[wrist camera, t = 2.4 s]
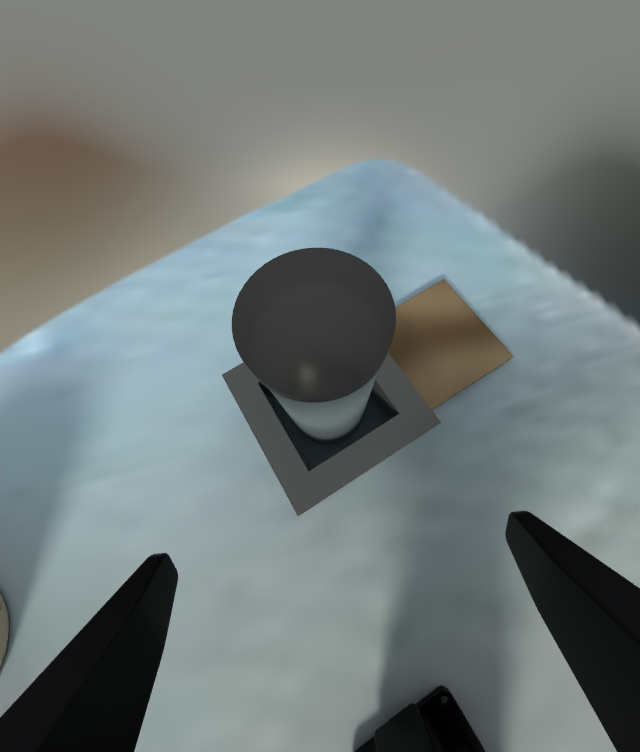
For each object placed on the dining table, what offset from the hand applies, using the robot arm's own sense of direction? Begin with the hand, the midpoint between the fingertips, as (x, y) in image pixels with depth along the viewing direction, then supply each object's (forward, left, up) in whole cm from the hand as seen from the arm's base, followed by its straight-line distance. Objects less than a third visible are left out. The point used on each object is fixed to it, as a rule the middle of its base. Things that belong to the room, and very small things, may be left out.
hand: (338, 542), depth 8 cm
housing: (+6, -3, -14) cm, 15 cm away
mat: (+6, -12, -14) cm, 19 cm away
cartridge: (+6, -3, -14) cm, 15 cm away
